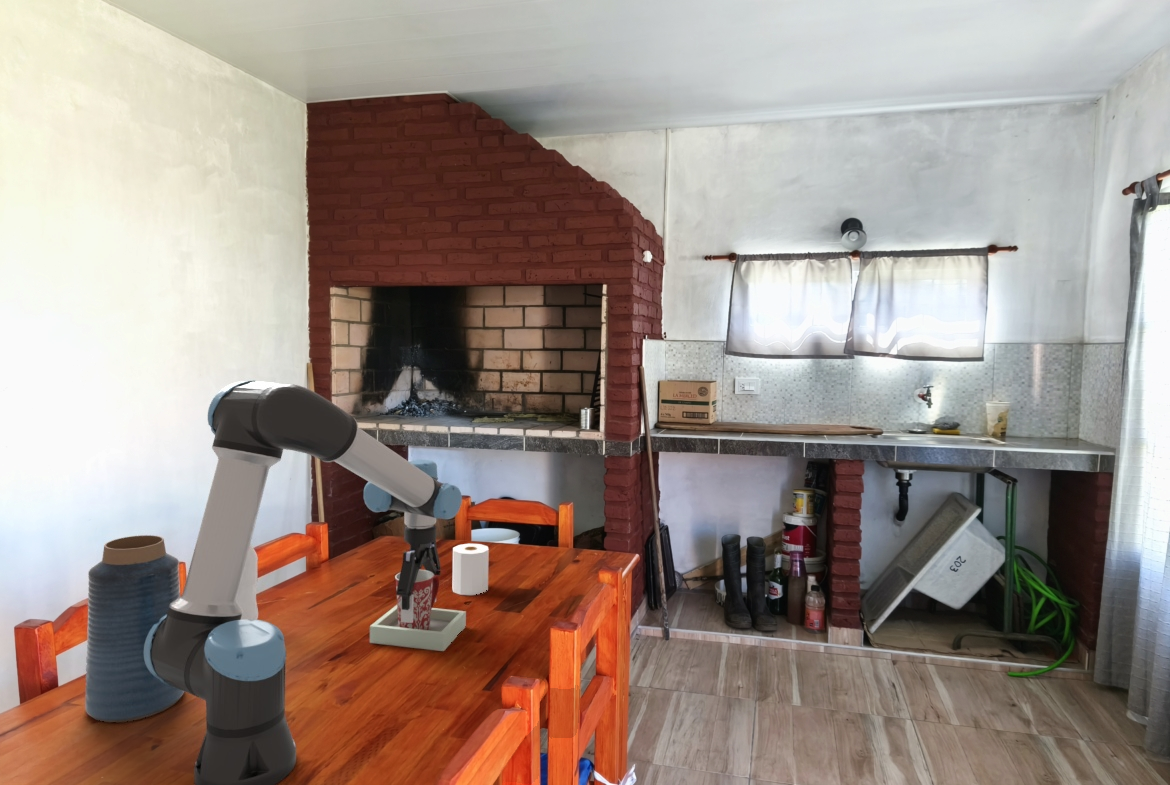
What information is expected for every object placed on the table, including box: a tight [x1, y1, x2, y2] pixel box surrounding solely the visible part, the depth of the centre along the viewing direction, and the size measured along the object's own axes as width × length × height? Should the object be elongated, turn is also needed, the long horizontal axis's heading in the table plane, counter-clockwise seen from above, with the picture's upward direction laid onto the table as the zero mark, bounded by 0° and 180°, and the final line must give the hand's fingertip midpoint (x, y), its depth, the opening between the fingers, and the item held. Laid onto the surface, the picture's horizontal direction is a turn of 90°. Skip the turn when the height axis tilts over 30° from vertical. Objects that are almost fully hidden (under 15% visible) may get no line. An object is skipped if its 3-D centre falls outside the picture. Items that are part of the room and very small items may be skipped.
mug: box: [394, 569, 440, 630], centre depth 171 cm, size 13×9×14 cm
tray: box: [369, 604, 467, 652], centre depth 171 cm, size 14×18×4 cm
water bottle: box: [236, 543, 259, 621], centre depth 172 cm, size 7×7×25 cm
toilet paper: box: [451, 543, 490, 596], centre depth 203 cm, size 10×10×12 cm
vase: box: [84, 534, 185, 723], centre depth 135 cm, size 16×16×32 cm
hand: (419, 611), depth 171 cm, fingers open, 13 cm apart
